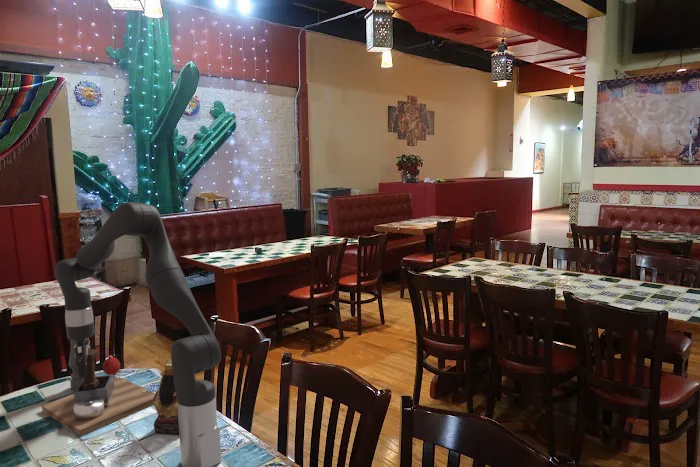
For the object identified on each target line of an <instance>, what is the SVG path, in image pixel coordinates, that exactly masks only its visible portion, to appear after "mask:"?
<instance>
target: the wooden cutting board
mask: <svg viewBox="0 0 700 467" xmlns="http://www.w3.org/2000/svg"><path fill="white" fill-rule="evenodd" d="M114 387H115V391H114V393H113V396H112V398H111V401H110V403H109V405H108V406H104V412H103V413H102V414H101V415H100V416H98V417H95V418H92V419H88V420H77V419H75V417H74V408H73V407H74V405H75V399H74V393H73V394H70V395H67V396H64V397H62V398H59V399H57V400H54V401H51V402H47V403H45V404H42V405H41V410H42V412H43V413H45V414H46V415H48V416H50V417H51V418H52V419H53V420H56V422H58V423H60V424H61V425H63V426H64V427H66V428H68V429H69V430H71V431H72V432H74V433H75V434H77V435H78V436H79V437H83V436H84V435H86V434H87V435H88V433H89V434H90V433H91V432H93V431H96V430H98V429H101V428H103V427H105V426H107V425H110V424H112V423H114V422H117V421H119V420H121V419H123V418H126V417H128V416H130V415H133V414H134V413H137V412H138V411H142V410H144V409H145V408H149V407H151V406H154V403H155V399H154V396H155V394H156V392H153V391H150V390H149V389H146V388H144V387H141V386H140V385H137V384H135V383H134V382H131V381H129V380H127V379H124V378H122V377H121V376H119V377H117V378H114Z"/></svg>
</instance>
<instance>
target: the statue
mask: <svg viewBox="0 0 700 467" xmlns="http://www.w3.org/2000/svg"><path fill="white" fill-rule="evenodd" d="M159 374H160V376H161V378H160V382H159V386H158V389H157V390H156V392H155V396H154V399H155V403H154V404H153V406H154V408H155V410H156V412H157V417H156V418H155V419H154V422H153V430H154V433H155V434H159V435H165V436H166V435H169V436H179V421H178V405H177V395H176V391H175V386H174V377H173V369H172V362H171V358H167V359H166V362H165V365H164V370H163V371H161V372H159Z"/></svg>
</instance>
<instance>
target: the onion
mask: <svg viewBox="0 0 700 467" xmlns="http://www.w3.org/2000/svg"><path fill="white" fill-rule="evenodd" d="M120 370H121V362H120V360H119V359H118V358H116V357H115V356H113V355H109V356H108V358H107V359H105V360H104V362H103V364H102V371H103V373H105V374H106V375H112V374H113V375H114V376H116V375H117V374H118V372H119V371H120Z"/></svg>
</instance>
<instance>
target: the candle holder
mask: <svg viewBox="0 0 700 467" xmlns="http://www.w3.org/2000/svg"><path fill="white" fill-rule="evenodd" d="M64 320H65V319H64ZM64 323H65V324H66V320H65V321H64ZM69 341H70V352H69V359H68V367H69V368H70V369H71V371H72V373H71V374H70V380H69V382H70V391H72V392H75V390H76V389H77V387H78V385H79V384H80V382H81V380H82V378H80V377H79V371H78V366H76V358H75V349H74V345H75V342H76V340H70V339H69ZM79 362H81V360H80V359H79ZM83 378H84V377H83Z"/></svg>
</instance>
